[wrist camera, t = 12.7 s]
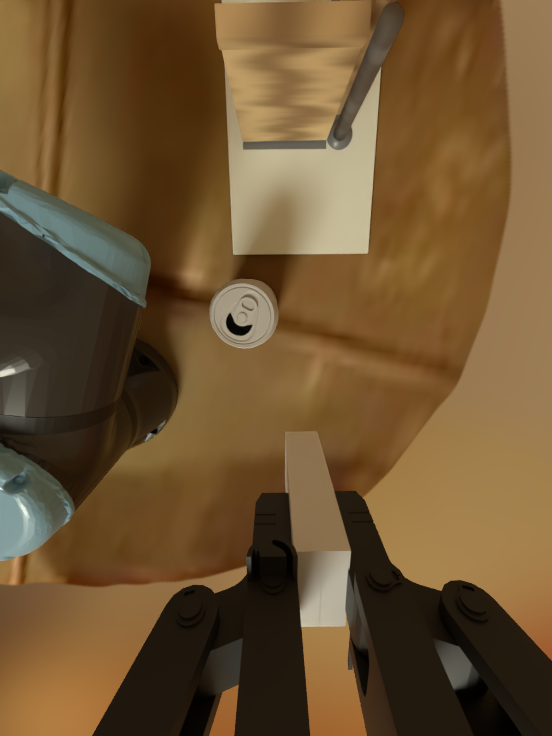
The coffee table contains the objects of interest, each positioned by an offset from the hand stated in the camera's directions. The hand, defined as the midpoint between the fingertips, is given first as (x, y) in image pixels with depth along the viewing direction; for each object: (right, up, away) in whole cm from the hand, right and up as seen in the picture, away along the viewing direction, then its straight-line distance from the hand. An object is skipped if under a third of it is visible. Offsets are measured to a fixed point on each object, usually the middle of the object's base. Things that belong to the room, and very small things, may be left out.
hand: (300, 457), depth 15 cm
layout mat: (+2, +29, +19) cm, 35 cm away
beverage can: (-4, +12, +24) cm, 27 cm away
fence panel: (+1, +29, +18) cm, 34 cm away
